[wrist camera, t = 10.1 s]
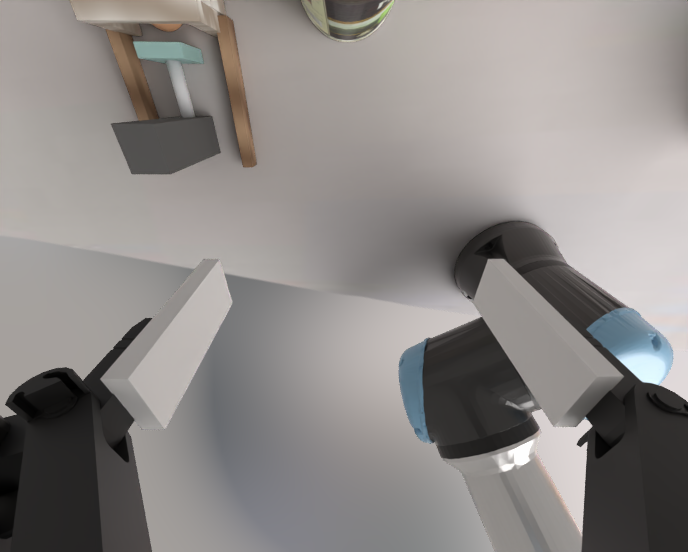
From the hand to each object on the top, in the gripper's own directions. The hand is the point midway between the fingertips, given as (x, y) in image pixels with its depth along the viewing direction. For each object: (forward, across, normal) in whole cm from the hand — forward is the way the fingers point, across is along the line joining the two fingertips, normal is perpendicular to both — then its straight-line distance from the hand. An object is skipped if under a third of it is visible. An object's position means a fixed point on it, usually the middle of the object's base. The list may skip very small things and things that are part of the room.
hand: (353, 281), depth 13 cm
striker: (+26, +18, -7) cm, 33 cm away
